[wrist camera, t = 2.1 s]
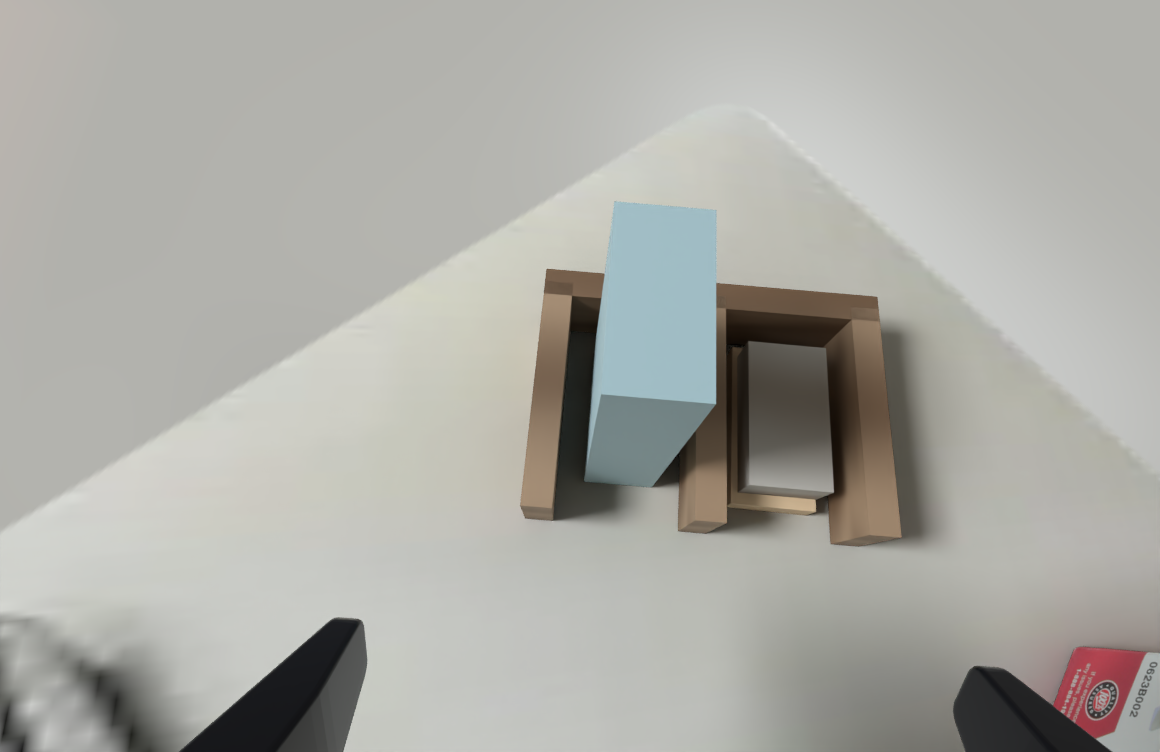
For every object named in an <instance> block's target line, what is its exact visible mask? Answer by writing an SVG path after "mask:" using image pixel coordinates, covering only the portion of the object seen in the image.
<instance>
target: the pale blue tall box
mask: <svg viewBox="0 0 1160 752" xmlns="http://www.w3.org/2000/svg"><path fill="white" fill-rule="evenodd" d="M715 405H716V210H709V209H698V208H686V207H674V206H662V205H650V204H639V203H627V202H614V209H613V217H612V224H611V232H610V239H609V246H608V254H607V261H606V268H605V276H604V283H603V290H602V298H601V305H600V313H599V320H598V327H597V335H596V342H595V349H594V357H593V370H592V383H591V396H590V409H589V422H588V435H587V448H586V461H585V474H584V482H594V483H606V484H618V485H629V486H641V487H652V486H653V485H654V484H655V482H656V481H657V480H658V479H659V477H660V476H661V475H662V473H663V472H664V471H665V469H666V468H667V467H668V466H669V464H670V463H671V462H672V460H673V459H674V458H675V457H676V455H677V454H678V453H679V451H680V450H681V449H682V447H683V446H684V445H685V444H686V442H687V441H688V440H689V438H690V437H691V436H692V435H693V433H694V432H695V431H696V429H697V428H698V427H699V425H700V424H701V423H702V422H703V420H704V419H705V418H706V416H707V415H708V414H709V413H710V411H711V410H712V409H713V407H714V406H715Z"/></svg>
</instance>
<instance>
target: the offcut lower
mask: <svg viewBox="0 0 1160 752" xmlns="http://www.w3.org/2000/svg"><path fill="white" fill-rule="evenodd" d="M742 350H743V348H739V347H732V349H731V350H730V352H729V353H728V355H727V364H726V434H727V507H729V508H738V509H748V510H758V511H768V512H778V513H787V514H797V515H809V514H812V513H814V512H816V500H814V499H803V498H793V497H782V496H771V495H760V494H749V493H738V458H737V357H738V355H739V354H740V352H741V351H742Z"/></svg>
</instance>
